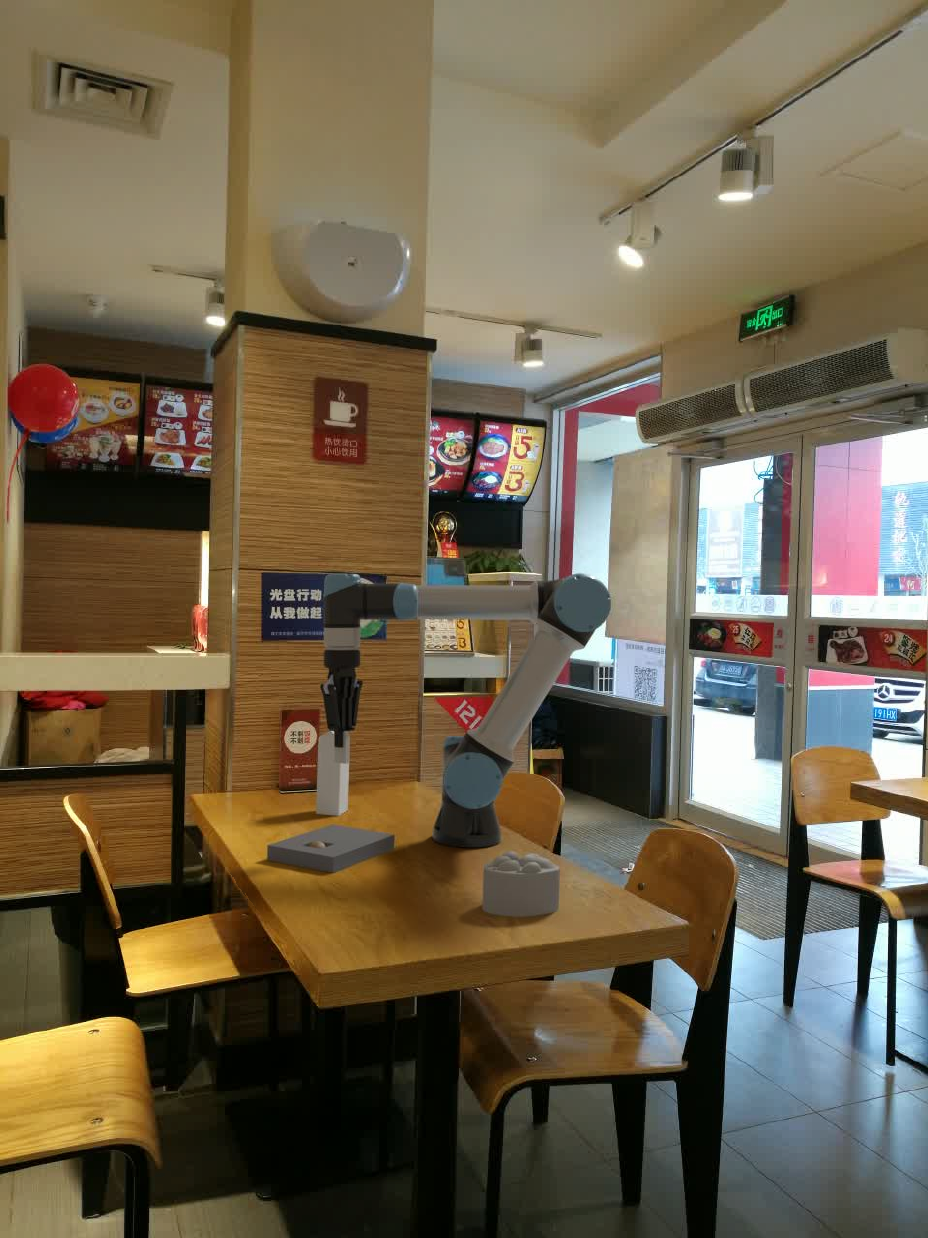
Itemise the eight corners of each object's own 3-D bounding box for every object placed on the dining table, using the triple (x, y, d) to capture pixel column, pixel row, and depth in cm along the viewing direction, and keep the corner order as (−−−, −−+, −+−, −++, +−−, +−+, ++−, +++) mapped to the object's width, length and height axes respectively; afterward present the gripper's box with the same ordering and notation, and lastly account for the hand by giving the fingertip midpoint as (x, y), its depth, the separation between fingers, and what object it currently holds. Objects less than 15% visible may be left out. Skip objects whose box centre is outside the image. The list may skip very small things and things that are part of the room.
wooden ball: (329, 857, 188) (329, 840, 188) (319, 863, 185) (319, 846, 185) (314, 854, 190) (314, 837, 189) (304, 860, 187) (304, 842, 186)
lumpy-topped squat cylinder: (565, 911, 160) (567, 861, 160) (499, 921, 154) (501, 868, 154) (534, 894, 169) (535, 846, 169) (470, 902, 163) (472, 853, 163)
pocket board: (394, 848, 197) (394, 834, 197) (333, 873, 178) (333, 857, 178) (332, 838, 205) (332, 824, 205) (266, 860, 185) (267, 845, 185)
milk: (315, 814, 228) (317, 724, 228) (325, 809, 234) (327, 721, 234) (339, 816, 227) (341, 725, 227) (348, 811, 233) (350, 722, 232)
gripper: (343, 647, 200) (343, 757, 201) (308, 649, 189) (308, 766, 189) (373, 647, 197) (373, 759, 197) (340, 650, 185) (340, 768, 186)
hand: (342, 762), depth 193 cm, fingers closed
